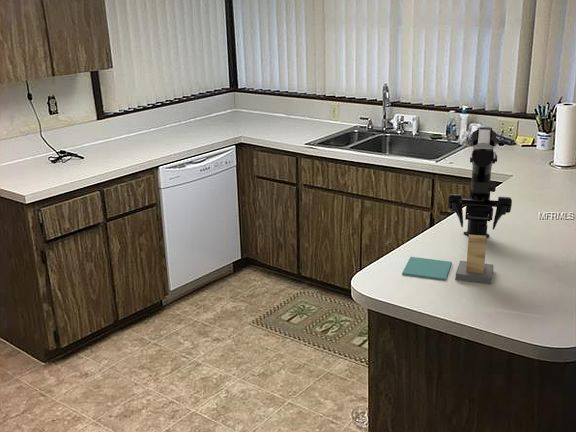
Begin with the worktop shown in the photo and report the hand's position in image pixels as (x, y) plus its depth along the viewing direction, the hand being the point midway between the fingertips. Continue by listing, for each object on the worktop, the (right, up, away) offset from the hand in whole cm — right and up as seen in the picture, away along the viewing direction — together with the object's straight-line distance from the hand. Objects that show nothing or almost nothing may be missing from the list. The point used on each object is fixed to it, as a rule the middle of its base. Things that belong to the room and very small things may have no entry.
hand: (477, 228), depth 193 cm
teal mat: (-15, -13, +3) cm, 20 cm away
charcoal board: (-2, -14, -2) cm, 14 cm away
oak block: (-2, -12, -3) cm, 13 cm away
